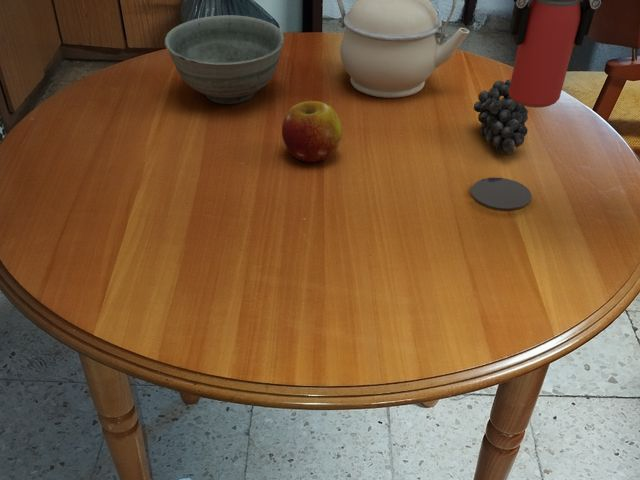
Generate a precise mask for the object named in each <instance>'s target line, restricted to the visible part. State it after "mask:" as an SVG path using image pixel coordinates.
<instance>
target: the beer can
mask: <svg viewBox="0 0 640 480" xmlns="http://www.w3.org/2000/svg"><path fill="white" fill-rule="evenodd" d="M529 1H530V2H528V7H529V9H530V11H529V16H528V21H527V26H526V31H525V35H524V40H523V43H522V44H521V45H517V50H516V54H515V60H514V65H513V69H512V74H511V79H510V80H511V83H510V88H509V95H510V97H511V99H512V100H513V101H515V102H516V103H518V104H521V105H523V106H525V107H526V108H527V107H528V108H535V109H537V108H547V107H550V106H553V105H555V104H556V103H557V102H558V101H559V99H560V98H561V94H562V91H563V86H564V83H565V79H566V76H567V71H568V69H569V64H570V61H571V57H572V53H573V48H574V45H575V43H574V41H575V38H576V34H577V30H578V26H579V22H580V14H581V13H580V1H582V0H529Z"/></svg>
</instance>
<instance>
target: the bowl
mask: <svg viewBox="0 0 640 480" xmlns="http://www.w3.org/2000/svg"><path fill="white" fill-rule="evenodd" d="M284 44H285V36H284V33H283V31H282V30H281V29H280V28H279V27H278V26H276V25H275V24H274V23H271V22H269V21H267V20H264V19H259V18H256V17H252V16H251V17H250V16H245V15H244V16H243V15H234V14H232V15H229V14H228V15H223V14H222V15H221V14H220V15H212V16H210V15H209V16H204V17H199V18H194V19H192V20H188V21H186V22H182V23H180V24H178V25H177V26H175V27H173V28H171V30H170V31H168V32H167V34H166V36H165V38H164V46H165V48H166V50H167V51H168V53H169V56H170V59H171V60H172V62H173V64H174V66H175V68H176V70H177V73H178V74H179V76H180V77H181V79H182V80H183V81H184V82H185V84H187V85H188V86H189V87H191V88H192V89H193V90H194V91H197V92H198V93H201V94H203V95H205V97H206V98H207V99H208V100H210V101H211V102H214V103H218V104H227V105H232V104H240V103H244V102H246V101H248V100H250V99H251V98H253V97H254V95H255V93H256V92H258V91H259V90H261V89H262V88H264V87H266V85H267V84H269V82H270V81H271V80H272V78H273V76H274V75H275V73H276V71H277V69H278V65H279V61H280V58H281V57H280V56H281V53H282V49H283V46H284Z"/></svg>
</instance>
